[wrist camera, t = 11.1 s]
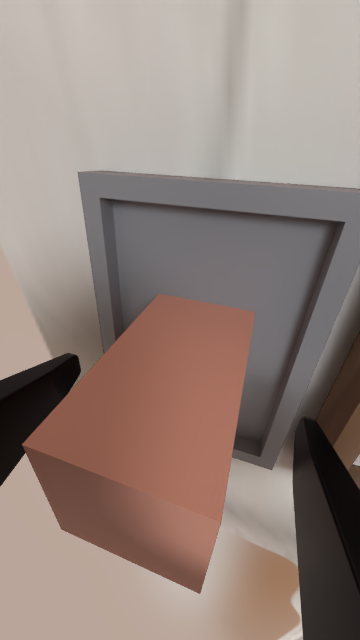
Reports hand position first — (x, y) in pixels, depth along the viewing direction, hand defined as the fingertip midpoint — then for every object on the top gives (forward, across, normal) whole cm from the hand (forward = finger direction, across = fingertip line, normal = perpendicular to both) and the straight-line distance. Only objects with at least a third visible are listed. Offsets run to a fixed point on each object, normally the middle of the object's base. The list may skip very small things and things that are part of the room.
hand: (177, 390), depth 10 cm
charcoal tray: (+4, 0, 0) cm, 4 cm away
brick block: (+3, 0, 0) cm, 3 cm away
